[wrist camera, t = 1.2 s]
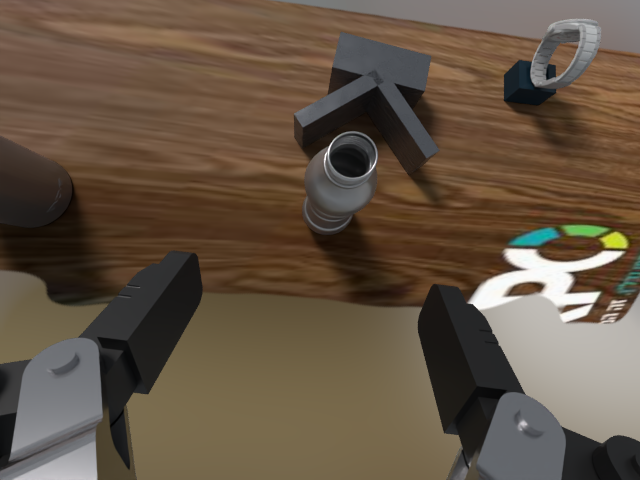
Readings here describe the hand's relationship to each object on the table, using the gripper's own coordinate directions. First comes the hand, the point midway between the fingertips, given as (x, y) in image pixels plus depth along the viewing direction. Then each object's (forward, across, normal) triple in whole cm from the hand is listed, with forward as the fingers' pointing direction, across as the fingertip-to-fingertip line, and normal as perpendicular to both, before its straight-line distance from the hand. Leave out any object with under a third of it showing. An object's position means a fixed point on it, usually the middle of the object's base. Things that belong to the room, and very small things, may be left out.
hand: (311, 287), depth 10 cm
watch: (+45, -28, -4) cm, 53 cm away
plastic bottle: (+28, 0, +12) cm, 31 cm away
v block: (+38, -4, +1) cm, 39 cm away
